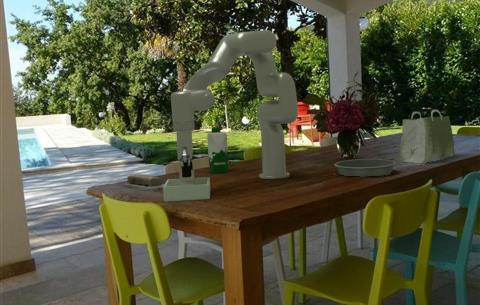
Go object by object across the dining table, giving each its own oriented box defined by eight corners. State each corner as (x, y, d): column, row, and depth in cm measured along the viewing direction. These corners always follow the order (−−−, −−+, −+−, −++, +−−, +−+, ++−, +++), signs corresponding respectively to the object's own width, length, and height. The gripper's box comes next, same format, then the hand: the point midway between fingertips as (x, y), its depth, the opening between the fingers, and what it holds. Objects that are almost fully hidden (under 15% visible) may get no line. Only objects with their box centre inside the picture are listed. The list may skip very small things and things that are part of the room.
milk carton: (226, 169, 246) (224, 126, 244) (230, 172, 238) (228, 128, 235) (208, 171, 245) (205, 128, 242) (211, 174, 236) (208, 129, 233)
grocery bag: (427, 154, 263) (427, 107, 260) (455, 156, 253) (455, 107, 250) (395, 163, 241) (394, 112, 238) (424, 165, 231) (424, 111, 228)
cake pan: (355, 167, 235) (355, 157, 235) (407, 171, 218) (407, 160, 217) (322, 175, 218) (322, 164, 218) (375, 180, 201) (375, 168, 200)
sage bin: (168, 192, 197) (167, 179, 196) (210, 190, 197) (209, 177, 196) (163, 201, 181) (162, 187, 180) (209, 198, 182) (208, 184, 181)
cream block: (181, 192, 191) (180, 170, 190) (195, 191, 192) (194, 169, 191) (180, 194, 186) (179, 172, 185) (194, 193, 187) (193, 171, 186)
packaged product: (122, 175, 216) (143, 172, 222) (123, 187, 216) (144, 183, 223) (146, 179, 202) (168, 175, 209) (147, 192, 203) (169, 188, 210)
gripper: (175, 125, 195) (179, 171, 197) (171, 129, 178) (175, 179, 180) (195, 124, 195) (199, 170, 197) (193, 128, 178) (197, 178, 180)
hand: (187, 174), depth 189 cm, fingers open, 9 cm apart
